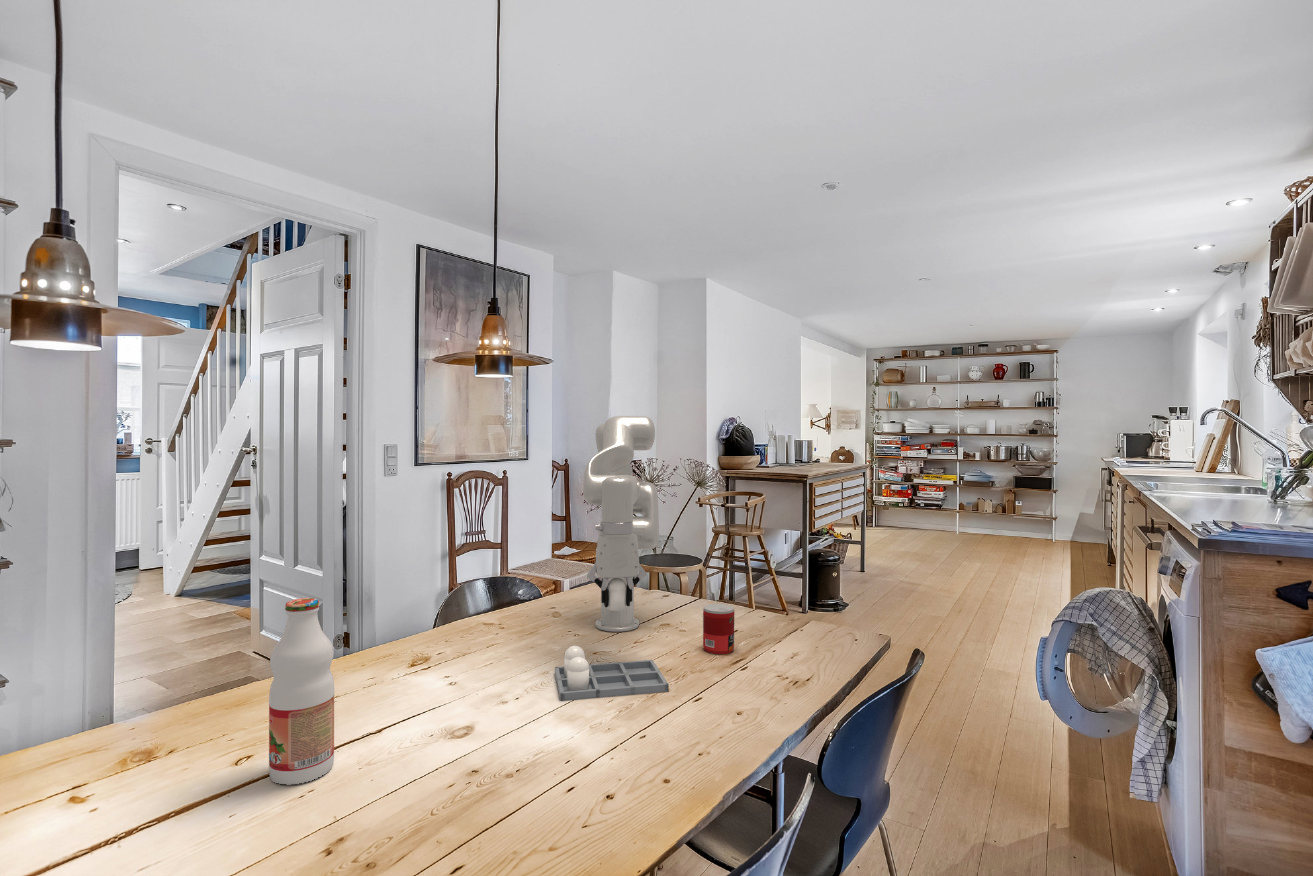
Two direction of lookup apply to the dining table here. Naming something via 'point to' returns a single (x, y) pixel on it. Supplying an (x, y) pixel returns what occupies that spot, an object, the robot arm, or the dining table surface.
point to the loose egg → (616, 594)
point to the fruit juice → (301, 698)
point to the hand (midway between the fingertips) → (616, 604)
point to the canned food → (718, 628)
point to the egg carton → (615, 680)
